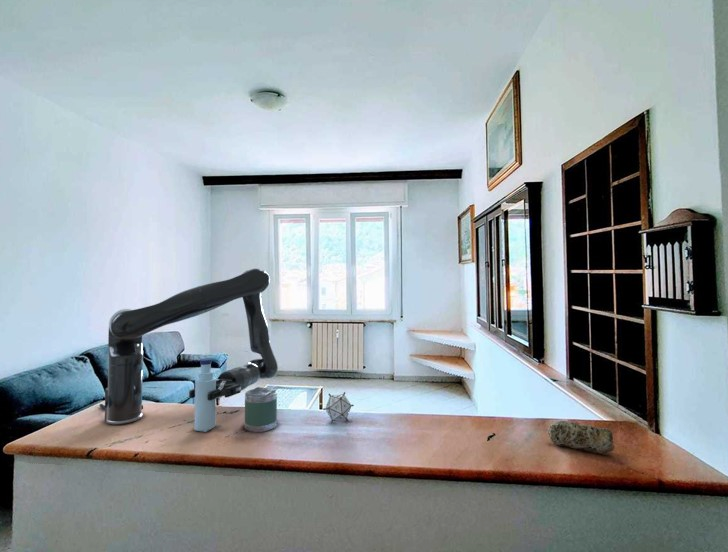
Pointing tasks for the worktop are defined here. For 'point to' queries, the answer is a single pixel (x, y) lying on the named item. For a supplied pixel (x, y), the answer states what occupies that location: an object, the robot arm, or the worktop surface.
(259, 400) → the tin
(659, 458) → the worktop surface
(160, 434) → the worktop surface
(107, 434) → the worktop surface
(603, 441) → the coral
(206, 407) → the bottle
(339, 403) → the game die
